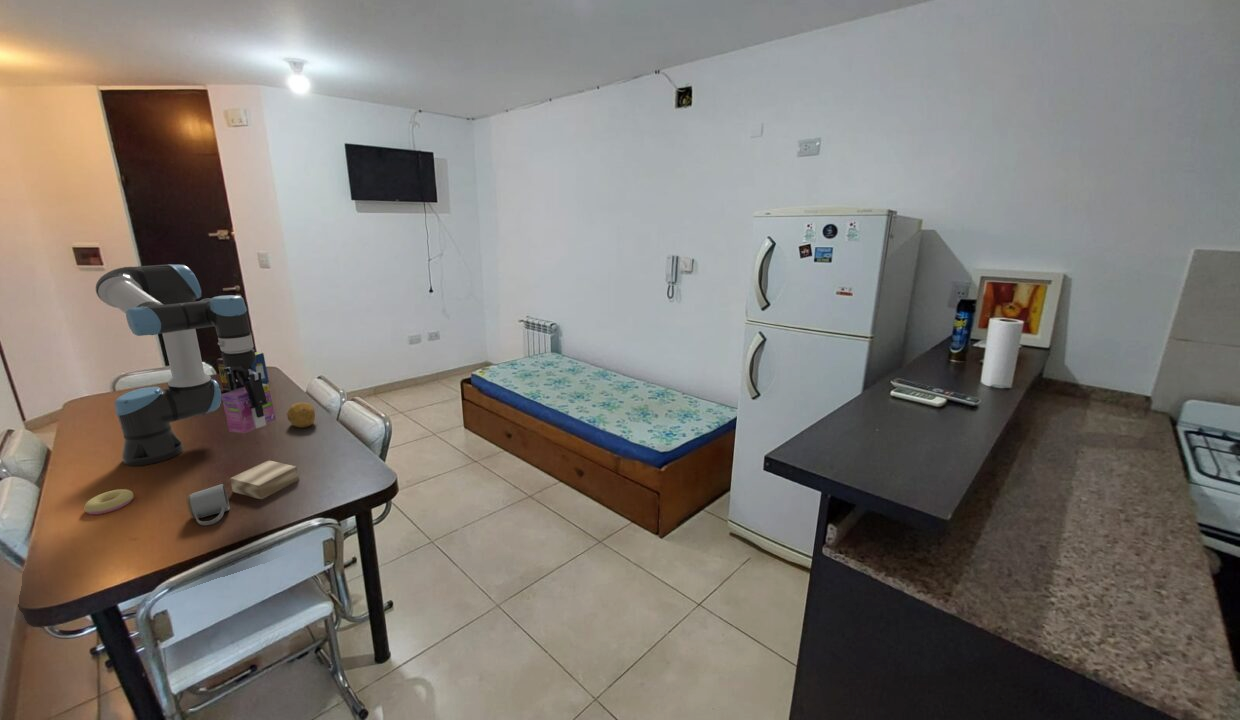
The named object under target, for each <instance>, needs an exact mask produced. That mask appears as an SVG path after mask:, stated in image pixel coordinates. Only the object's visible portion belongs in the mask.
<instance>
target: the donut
mask: <svg viewBox="0 0 1240 720" xmlns="http://www.w3.org/2000/svg"><path fill="white" fill-rule="evenodd" d="M133 499H134V493H133V491H131V490H130V489H126V488H123V489H121V488H120V489H114V490H110V491H105V492H103V493H100V494H98V495H95V496H94V497H92V498H90V499H88V501H87V502H85V504H84V506H83V507H84V508H83V509H84V511H85V512H86V513H87V514H89V515H102V514H103V513H104V514H107V513H111V512H115V511H117V510H119V509H121V508H124V507H125V506H127V505H128V504H129V503H131V501H132V500H133ZM123 506H124V507H123Z"/></svg>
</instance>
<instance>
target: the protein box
mask: <svg viewBox="0 0 1240 720" xmlns="http://www.w3.org/2000/svg"><path fill="white" fill-rule="evenodd" d="M255 356H256V361H255V362H254V363H252V367H253V369H254V372H256V373H258V372H260V373H261V381H262V384H267V383H269V382H270V381H269V376H268V370H267V366H266V365H267V364H266V359H265V354H264V352H258V351H257V352H256V351H255ZM216 362H217V368H218V371H219V376H220V380H221V385H222V389H223V391H226V392H229V389H228V384H227V378H226V374H225V371H224V368H228V367H230V366H225V365H224V364H223V359H222V357H221V358H217V359H216ZM248 382H250V381H248ZM246 383H247V382H246Z"/></svg>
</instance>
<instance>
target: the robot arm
mask: <svg viewBox="0 0 1240 720" xmlns="http://www.w3.org/2000/svg"><path fill="white" fill-rule="evenodd" d="M95 293H96V296H97V297H98V298H99V299H100V301H102V302H103V303H105V304H106V305H107V306H110V307H113V308H116V309H119V310H120V311H121V312H123V313H124V314H125V317H126V322H127V324H128V328H129V329H130V331H131V333H132V334H133V335H135V336H139V337H141V336H142V337H143V336H156V335H161V334H162V338H163V342H164V348H165V351H166V356H167V360H168V364H169V369H170V374H171V378H170V379H169V380H168V381H167V387H168V388H165V389H162V388H160V387H159V386H148V387H141V388H137V389H133V390H131V391H129V392H126V393H123V394H121V395H120V396H119V397H118V398H117V399H115V402H114V408H115V414H116V415H117V418H118V422H119V425H120V428H121V431H122V435H123V438H124V444H123V448H122V455H121V459H122V461H123V464H124V465H126V466H131V467H133V466H134V467H136V466H139V467H140V466H145V465H151V464H155V463H160V462H164V461H166V460H168V459H171V458H173V457H176V456H178V455H180V454H181V453H182V452H183V451H184V446H183V442H182V441H181V440H180V438H179V437H178V436H177V435H176V434H175V432H174V431H173V430H172V426H171V423H173V422H177V421H182V420H186V419H190V418H192V417H193V418H194V417H197V416H202V415H203V416H204V415H206V414H209V413H212V412H216V410H218V409H219V408H220V407H221V404H222V396H221V394H222V392H221V388H220V385H219V383H218V381H217V380H216V379H212V378H211V375H209V374H206V373H205V371H204V365H203V361H202V356H201V350H200V346H199V341H198V335H197V331H196V329H204V328H210V327H215V332H216V335H217V336H216V337H217V339H218V342H217V345H219V348H220V351H221V354H220V355H221V358H222V359H223V364H224V365H225V366H230V367H228V368H224V371H225V374H226V378H227V384H228V389H229V391H228V392H230V391H232V390H235V389H238V388H241V387H245V389H246V391H247V392H248V394H249V399H250V401H251V404H252V407H250V408H251V411H252V416H253V421H254V425H255V428H256V429H259V428H262V427H266V426H267V424H266V421H265V416H264V411H263V405H265V404H267V400H266V396H265V392H264V388H263V384H262V381H261V373H260V372H258V373H256V372H254V369H253V367H252V363H254V362H255V361H256V356H255V352H256V351H255V349H254V348H255V347H254V342H253V336H252V332H251V328H250V321H249V317H248V307H247V306H246V303H245V300H244V298H243V297H242V296H240V295H233V294H232V295H231V294H229V295H227V294H225V295H218V296H214V297H212V298H203V299H201V300H198V301H196V300H197V299H200V298H201V297H202V289H201V286H200V283H199V280H198V279H197V277H196V275H195V273H194V271H193V270H191V268H189V267H188V266H186V265H185V264H171V263H170V264H169V263H168V264H155V265H154V264H153V265H142V266H141V265H139V266H123V267H118V268H115V269H112V270H110V271H107V272H106V273H104V274H103V275H101V276H100V278H99V279H98V280H97V281H96V284H95ZM248 381H250V382H248ZM246 382H247V383H246Z"/></svg>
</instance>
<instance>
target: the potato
mask: <svg viewBox="0 0 1240 720" xmlns="http://www.w3.org/2000/svg"><path fill="white" fill-rule="evenodd" d="M315 411H316V410H315V407H314V405H312V404H310V403H308V402H296V403H293V404H292V405H290V407H289V409H288V410H287V412H286V417H287V420H288V421H289V423H290V424H292V425H293V426H294V427H297V428H302V429H304V428H307V427H309V426H311V425H312V424H313V423H315V420H316V412H315Z"/></svg>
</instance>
